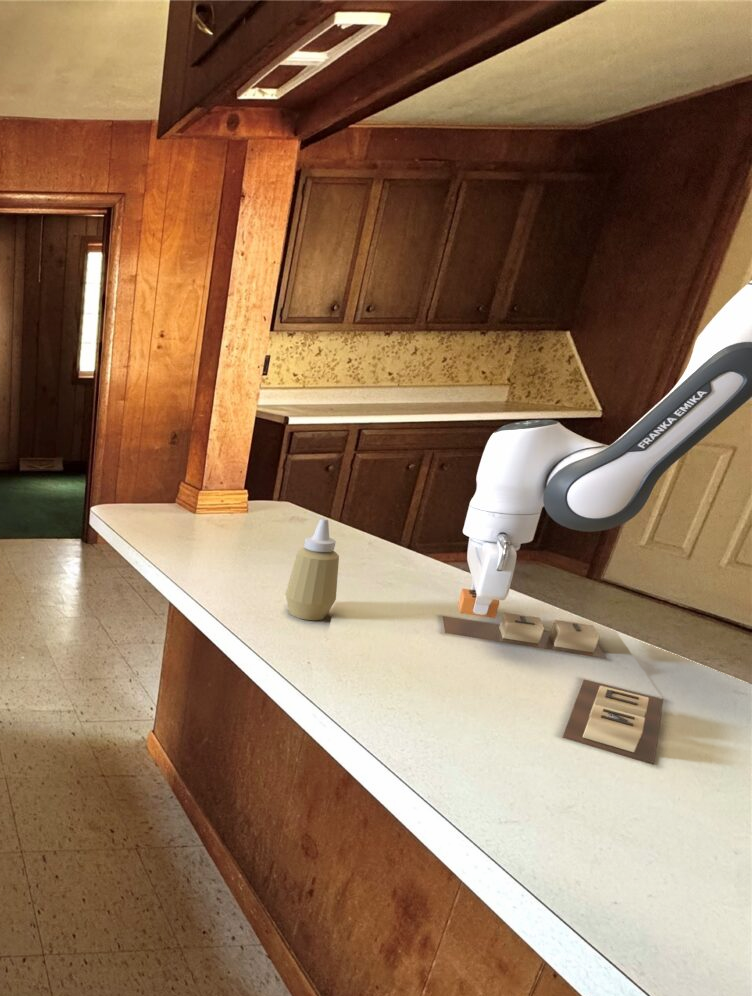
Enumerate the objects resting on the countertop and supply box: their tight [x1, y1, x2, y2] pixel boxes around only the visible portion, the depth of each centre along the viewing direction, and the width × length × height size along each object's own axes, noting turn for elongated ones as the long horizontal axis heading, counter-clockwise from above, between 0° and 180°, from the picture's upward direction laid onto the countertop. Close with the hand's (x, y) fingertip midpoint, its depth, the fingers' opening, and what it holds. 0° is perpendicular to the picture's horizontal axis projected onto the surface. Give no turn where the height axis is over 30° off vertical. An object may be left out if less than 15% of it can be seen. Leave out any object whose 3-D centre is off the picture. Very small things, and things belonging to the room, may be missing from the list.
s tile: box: [458, 588, 500, 619], centre depth 109 cm, size 5×5×3 cm
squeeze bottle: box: [285, 517, 340, 621], centre depth 117 cm, size 8×8×18 cm
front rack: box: [562, 679, 664, 765], centre depth 85 cm, size 20×8×4 cm, turn 133°
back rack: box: [442, 612, 607, 660], centre depth 107 cm, size 20×8×4 cm, turn 58°
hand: (477, 606), depth 109 cm, fingers closed on s tile, 4 cm apart
